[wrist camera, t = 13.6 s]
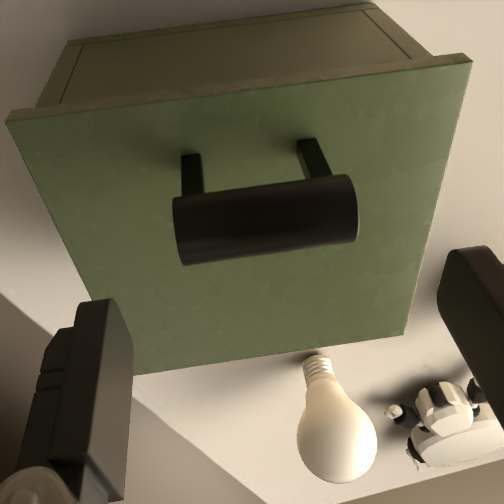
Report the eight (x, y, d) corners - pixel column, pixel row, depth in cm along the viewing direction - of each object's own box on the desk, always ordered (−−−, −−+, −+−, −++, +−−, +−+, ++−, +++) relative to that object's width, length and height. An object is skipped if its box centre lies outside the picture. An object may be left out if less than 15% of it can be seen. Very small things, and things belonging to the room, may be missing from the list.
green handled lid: (10, 109, 15) (-50, 214, 11) (463, 51, 15) (563, 131, 11) (129, 363, 25) (121, 465, 21) (399, 323, 25) (440, 415, 21)
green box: (67, 39, 22) (21, 131, 15) (374, 2, 22) (456, 75, 16) (139, 251, 31) (129, 362, 25) (352, 221, 32) (398, 322, 25)
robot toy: (369, 388, 50) (409, 444, 58) (382, 427, 46) (422, 480, 55) (482, 346, 46) (506, 411, 55) (505, 384, 43) (527, 447, 52)
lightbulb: (286, 382, 45) (310, 502, 37) (276, 345, 41) (301, 473, 33) (349, 368, 45) (388, 486, 37) (346, 330, 40) (388, 455, 32)
